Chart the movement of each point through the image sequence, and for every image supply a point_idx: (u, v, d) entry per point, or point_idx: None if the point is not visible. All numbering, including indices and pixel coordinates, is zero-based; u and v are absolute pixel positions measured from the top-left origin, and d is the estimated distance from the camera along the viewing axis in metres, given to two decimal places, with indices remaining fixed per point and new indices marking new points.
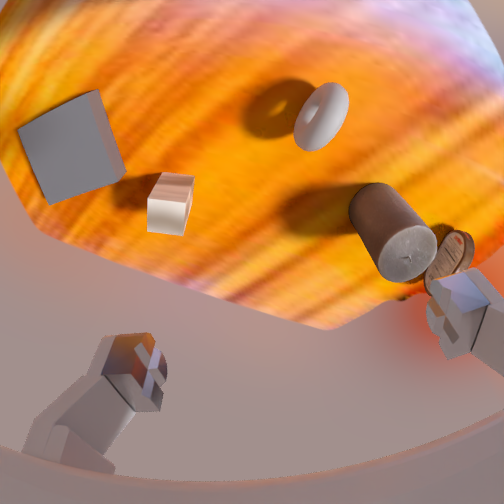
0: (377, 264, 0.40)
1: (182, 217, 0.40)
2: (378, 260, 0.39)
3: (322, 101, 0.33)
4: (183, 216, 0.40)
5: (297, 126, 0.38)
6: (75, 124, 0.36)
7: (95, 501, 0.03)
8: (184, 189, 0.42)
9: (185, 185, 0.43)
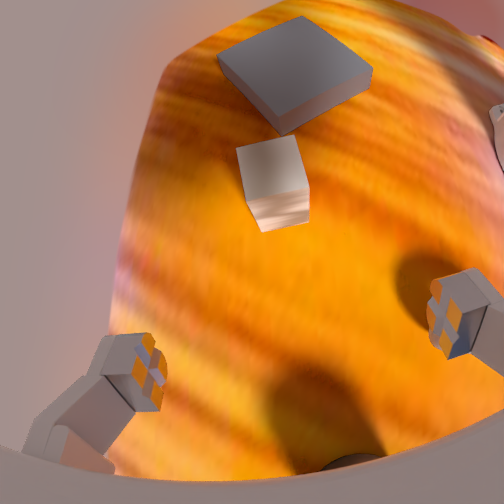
0: None
1: (281, 190, 0.24)
2: None
3: None
4: (283, 190, 0.24)
5: None
6: (333, 62, 0.32)
7: (95, 501, 0.03)
8: None
9: None
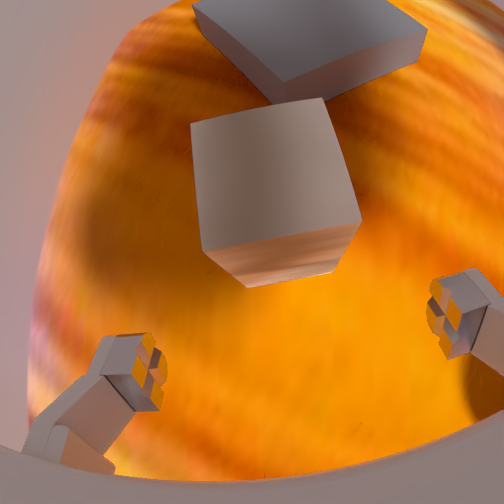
0: None
1: (291, 226, 0.10)
2: None
3: None
4: (297, 228, 0.09)
5: None
6: (370, 15, 0.18)
7: (95, 501, 0.03)
8: None
9: None
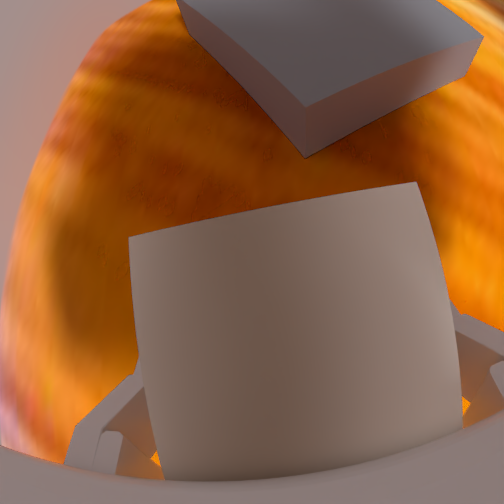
0: None
1: None
2: None
3: None
4: None
5: None
6: (413, 13, 0.12)
7: (95, 501, 0.03)
8: None
9: None
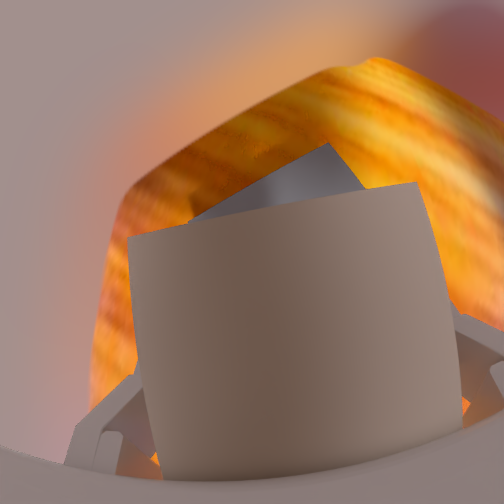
0: None
1: None
2: None
3: None
4: None
5: None
6: None
7: (95, 501, 0.03)
8: None
9: None
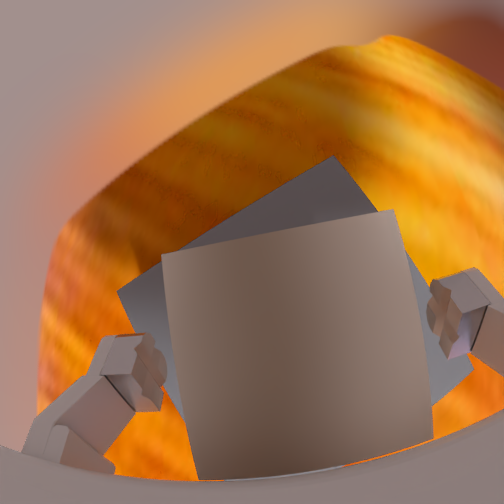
0: None
1: (332, 456, 0.05)
2: None
3: None
4: (341, 459, 0.05)
5: None
6: None
7: (95, 501, 0.03)
8: None
9: None
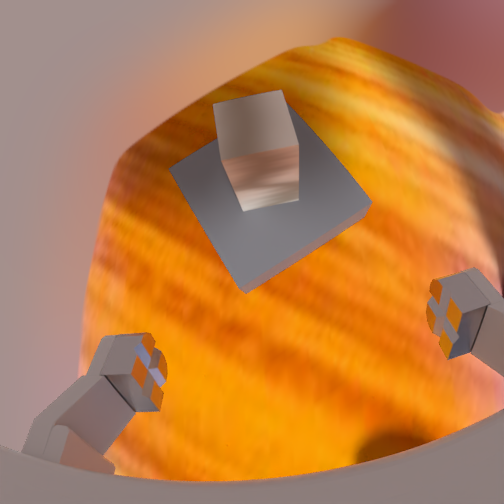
0: None
1: (264, 147, 0.19)
2: None
3: None
4: (267, 148, 0.19)
5: None
6: (320, 194, 0.27)
7: (95, 501, 0.03)
8: None
9: None
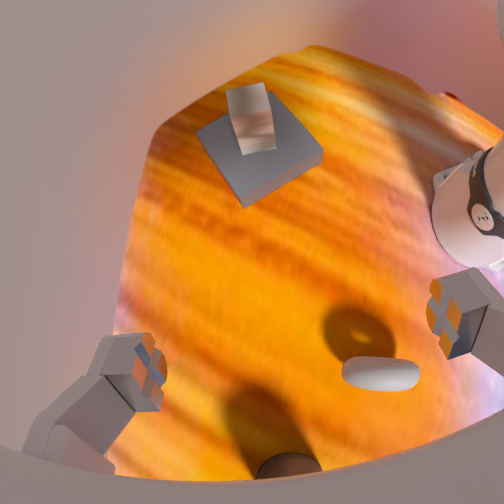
0: None
1: (252, 111, 0.35)
2: None
3: (404, 362, 0.31)
4: (254, 112, 0.35)
5: (360, 357, 0.35)
6: (290, 144, 0.44)
7: (95, 501, 0.03)
8: None
9: None
